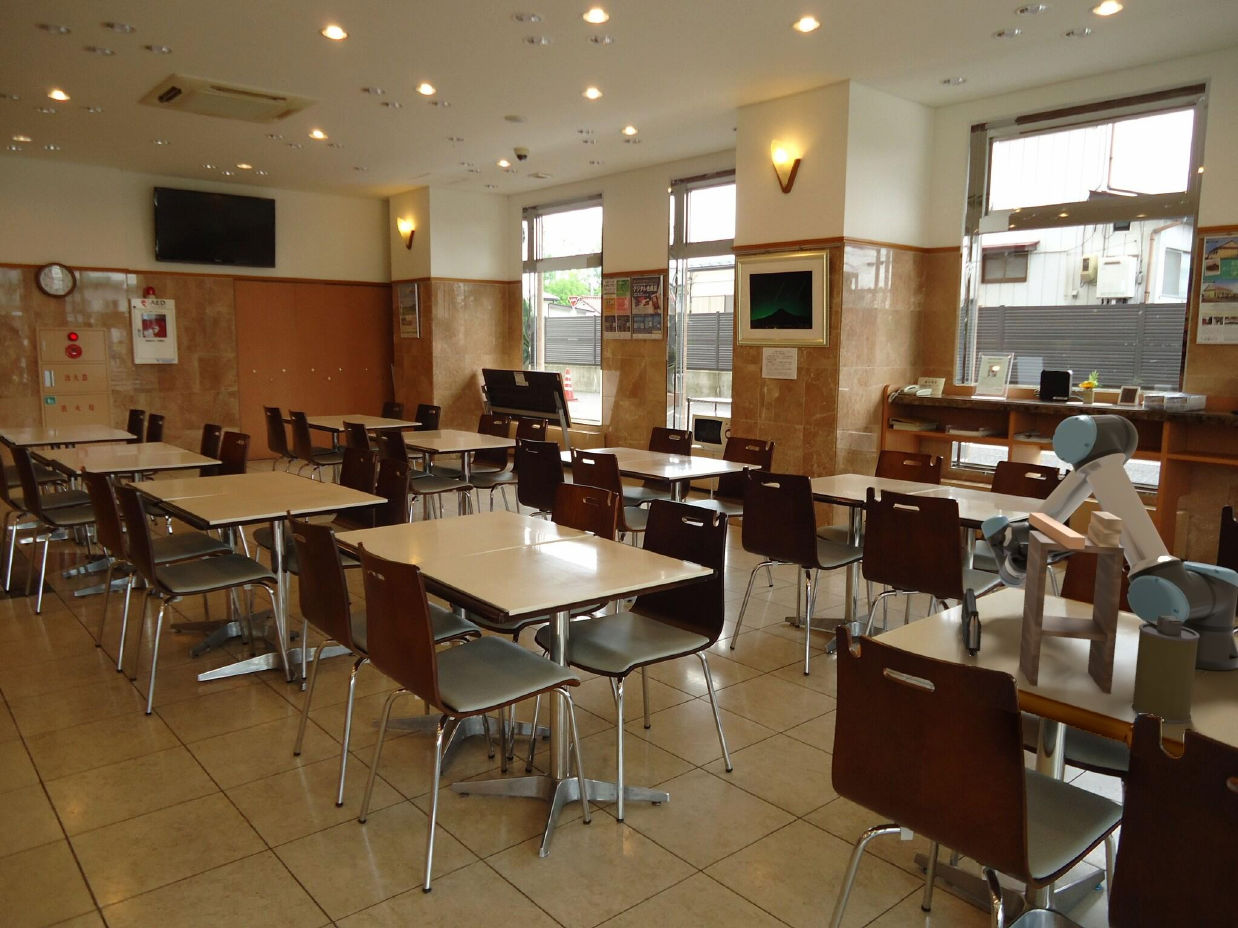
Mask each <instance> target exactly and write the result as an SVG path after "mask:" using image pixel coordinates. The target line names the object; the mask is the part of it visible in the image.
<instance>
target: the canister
mask: <svg viewBox="0 0 1238 928" xmlns="http://www.w3.org/2000/svg"><path fill="white" fill-rule="evenodd" d="M1182 625H1183V622H1182V621H1181V620H1179V619H1177V617H1175V616H1158V620H1157V621H1147V622H1145V623H1144V622H1143V623H1141V624H1139V625H1138V629H1139V635H1138V642H1137V643H1138V645H1137V655H1136V665H1135V676H1134V688H1133V695H1132V696H1133V697H1132V703H1131V709H1132V711H1133V712H1134V711H1135V712H1134V713H1136V714H1137V713H1148V714H1153V715H1154V716H1159V717H1162V719H1164V722H1163V723H1166V724H1186V723H1189V722H1190V721H1191V720H1192V716H1191V711H1192V710H1191V709H1192V700H1193V690H1194V682H1195V673H1196V671H1195V670H1196V667H1195V663H1196V654H1197V645H1198V639H1199V637H1200V635H1199V634H1198V633H1197V632H1195V631H1193V630H1191V629H1188V628H1185V627H1182Z"/></svg>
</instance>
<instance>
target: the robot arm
mask: <svg viewBox="0 0 1238 928" xmlns="http://www.w3.org/2000/svg"><path fill="white" fill-rule="evenodd" d="M1138 442H1139V434H1138V430H1137V428H1136V426H1134V424H1133V422H1131V421H1130V420H1129V419H1127V418H1125V417H1124V416H1121V415H1117V414H1101V415H1100V414H1099V415H1096V414H1095V415H1088V414H1080V415H1076V416H1075V415H1074V416H1070V417H1067V418H1066V419H1064V420H1063V421H1061V422H1060V423H1059V424H1058V425H1057V427H1056V428H1055V431H1054V435H1053V438H1052V448H1053V451H1054V454H1055V456H1056V457H1057V458H1058V459H1059V460H1060V461H1062V462H1063V463H1064V462H1065V463H1066V464H1071V466H1072V468H1073V469H1071V471H1070V472H1069V473H1068V474H1067V475H1066V476H1065V478H1064V479H1063V480H1062V481H1061V482H1060V483H1059V484H1058V485H1057V487H1056V488H1055V489H1054V490H1053V491H1052V492H1051V493H1050V494H1049V496H1048V497H1047V498H1046V499H1045V500H1044V502H1042V504H1040V506H1039V507H1038V508H1037V509H1036V510H1035V511H1034V513H1044V514H1045V515H1047V516H1049V517H1051V518H1052V519H1054V520H1056V521H1058V522H1059V523H1061V524H1063V525H1064V523H1065V522H1066V521H1067V520H1068V519H1069V518H1070V516H1071V515H1072V514H1073V513H1075V511H1076V510H1077V509H1078V508H1079V507H1080V506H1081V505H1082V504H1083V503H1084V502H1085V501H1086V500H1087V498H1088V497H1089V496H1091V494H1092V493H1093V495H1094V497H1095V499H1096V501H1097V503H1098V505H1099V508H1100V510H1101V512H1108V513H1110V514H1112V515H1114V516H1116V517H1118V518H1120V519H1122V531H1121V534H1120V537H1119V544H1120V545H1121V546H1122V547H1124V555H1123V556H1124V557H1125V559H1126V562H1127V563H1128V565H1129V568H1130V570H1129V572H1128V575H1127V579H1128V581H1129V583H1130V585H1129V587H1128V588H1127V590H1128V593H1127V594H1126V595H1127V597H1126V598H1127V602H1128V604H1129V607H1130V609H1131V610H1132V612H1133V613H1134V614H1135V615H1136V617H1138V618H1139V619H1140V620H1141V621H1143V622H1145V623H1147V621H1157V620H1158V616H1175V617H1177V619H1179V620H1181V621H1182V622H1183V625H1182V627H1185V628H1188V629H1191V630H1193V631H1195V632H1197V633H1198V634H1199V635H1200V637H1199V639H1198V645H1197V654H1196V663H1195V669H1196V668H1198V669H1202V670H1209V671H1233V670H1237V669H1238V646H1237V642H1236V638H1235V634H1234V633H1235V631H1234V630H1235V621H1236V620H1235V619H1236V612H1237V606H1238V573H1237V572H1236V571H1235V570H1233V569H1230V568H1227V567H1222V566H1217V565H1214V564H1213V565H1212V564H1207V563H1200V562H1194V561H1193V562H1192V561H1183V562H1182V560H1181V559H1180V558H1179V557H1177V556H1176V557H1175V556H1173V555H1170V554H1171V553H1169V550H1168V549H1167V547H1166V546H1165V543H1164V541H1163V540H1162V537H1161V536H1160V534H1159V532H1158V530H1157V528H1156V526H1155V525H1154V522H1153V520H1152V518H1151V517H1150V515H1149V513H1148V511H1147V509H1146V507H1145V505H1144V502H1143V501H1142V499H1141V498H1140V496H1139V493H1138V491H1137V489H1136V487H1135V486H1134V485H1133V483H1132V481H1131V478H1130V476H1129V474H1128V472H1127V471H1126V469H1125V467H1124V466H1125V465H1126V463H1128V462H1129V460H1130V459H1131V458H1132V456H1133V455H1134V454H1135V452H1136V450H1137V447H1138ZM980 528H981V530H982V534H983V536H984V539H986V543H987V545H988V547H989V548H990V550H991V554H992V555H993V557H994V560H995V563H996V565H997V567H998V578H999V580H1000V581H1001V582H1002V583H1003V585H1005V586H1007V587H1009V588H1019V587H1021V586H1023V585H1024V584H1025V583H1026V570H1027V557H1028V544H1029V531H1041V530H1039V529H1038V528H1036V527H1034V526H1033V525H1031V524H1030V523H1029V518H1028V519H1027V520H1026V521H1022V522H1011V521H1010V519H1009V518H1008V517H1007V516H1006V515H1004V514H1000V515H995V516H992V517H990V518H988V519H985V520H984V521H983V522H982V524H981V527H980ZM1076 553H1077V552H1074V551H1058V550H1048V559H1050V561H1052V562H1055V561H1057V560H1058V559H1061V558H1064V557H1066V556H1067V557H1068V556H1070V555H1073V554H1076ZM1236 668H1237V669H1236Z"/></svg>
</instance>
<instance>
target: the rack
mask: <svg viewBox="0 0 1238 928" xmlns="http://www.w3.org/2000/svg"><path fill="white" fill-rule="evenodd" d="M1121 531H1122V519H1120V518H1118V517H1116V516H1114V515H1112V514H1110V513H1108V512H1103V511H1096V510H1095V511H1093V510H1092V511H1091V512H1090V523H1088V527H1087V533H1079V534H1080V535H1082V536H1084V537H1085V549H1069V548H1067V547H1066V546H1064V545H1062V544H1061V543H1059V542H1058V541H1056V540H1055V539H1053V538H1052V537H1050V536H1048V535H1047V534H1045V533H1044V532H1042V531H1029V544H1028V557H1027V570H1026V583H1024V584H1025V585H1024V586H1025V587H1024V599H1023V610H1022V611H1023V612H1022V613H1023V614H1022V622H1021V623H1022V624H1021V637H1020V651H1019V652H1020V653H1019V664H1018V665H1019V667H1020V670H1021V672H1022V674H1023V675H1024V677H1025V680H1026V681H1027V683H1028V685H1029V687H1038V685H1039V683H1038V682H1039V672H1040V671H1039V670H1040V659H1041V657H1040V656H1041V647H1042V646H1041V645H1042V636H1044V637H1055V638H1065V639H1066V638H1067V639H1078V640H1089V642H1090V643H1089V651H1088V652H1089V653H1088V654H1089V655H1088V664H1087V673H1088V674H1089V676H1090V677H1091V678H1092V680H1093V681H1094V683H1095V684H1096V686H1097V687H1098V689H1099V690H1100V691H1101V692H1102V693H1103V694H1107V695H1108V694H1109V695H1111V694H1112V685H1113V676H1114V675H1113V673H1114V665H1115V652H1116V651H1115V650H1116V643H1117V630H1118V622H1119V621H1118V619H1119V610H1120V609H1119V608H1120V598H1121V597H1120V596H1121V588H1122V578H1123V565H1124V556H1125V555H1124V547H1122V546H1121V545H1120V544H1119V537H1120V534H1121ZM1048 550H1058V551H1074V552H1076V553H1089V554H1090V553H1091V554H1097V559H1096V560H1097V561H1096V573H1095V574H1096V575H1095V585H1094V595H1093V608H1092V617H1091V619H1090V618H1081V617H1069V616H1057V615H1056V616H1055V615H1045V614H1044V610H1045V609H1044V608H1045V597H1046V583H1047V582H1046V581H1047V571H1048V570H1047V569H1048V560H1049V558H1048Z"/></svg>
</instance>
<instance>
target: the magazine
mask: <svg viewBox="0 0 1238 928" xmlns="http://www.w3.org/2000/svg"><path fill="white" fill-rule="evenodd" d="M977 609H978V608H977V597H976V594H975V590H974V588H972V587H968V588H966V589H965V593H964V594H963V595H962V603H961V615H960V618H961V629H962V630H961V632H962V633H961V634H962V642H963V646H964V649H965V650H966V651H968V652H969V654H968V655H971V656H970V657H975V654H976V653H977V652H980V651H981V643H982V642H981V641H982V640H981V638H982V623H981V620H980V617H979V614H980V612H979V610H977Z"/></svg>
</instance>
